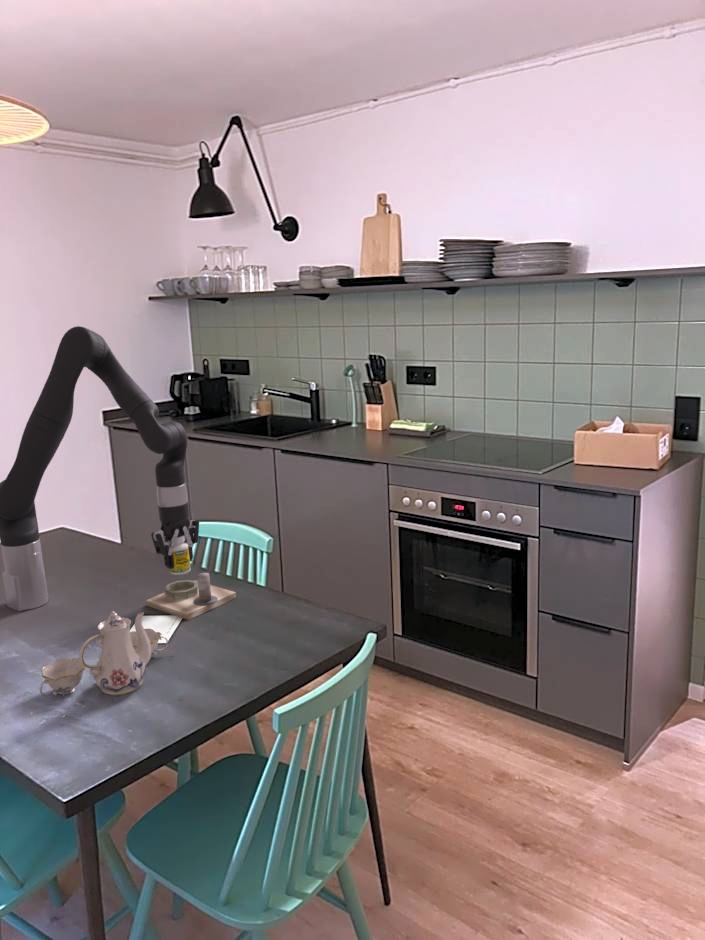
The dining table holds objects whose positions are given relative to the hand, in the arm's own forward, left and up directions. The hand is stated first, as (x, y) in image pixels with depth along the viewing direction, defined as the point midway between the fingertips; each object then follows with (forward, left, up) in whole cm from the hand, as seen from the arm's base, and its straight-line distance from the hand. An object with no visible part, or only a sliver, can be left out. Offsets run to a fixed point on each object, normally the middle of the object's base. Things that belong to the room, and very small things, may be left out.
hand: (179, 564), depth 197 cm
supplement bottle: (0, 0, -2) cm, 2 cm away
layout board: (0, -4, -9) cm, 10 cm away
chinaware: (-36, -21, -10) cm, 43 cm away
